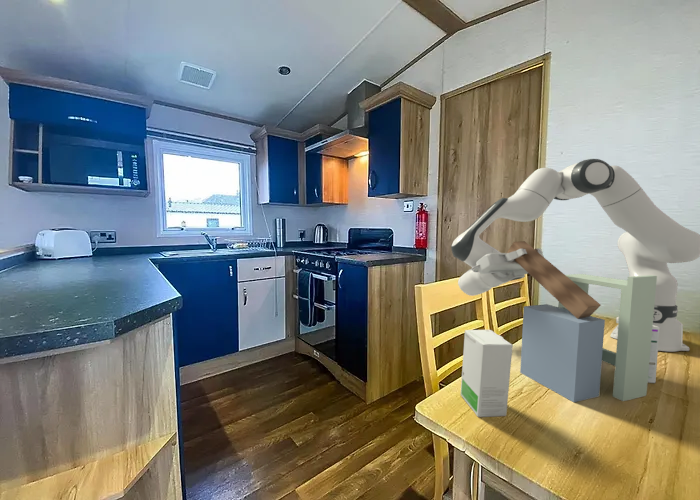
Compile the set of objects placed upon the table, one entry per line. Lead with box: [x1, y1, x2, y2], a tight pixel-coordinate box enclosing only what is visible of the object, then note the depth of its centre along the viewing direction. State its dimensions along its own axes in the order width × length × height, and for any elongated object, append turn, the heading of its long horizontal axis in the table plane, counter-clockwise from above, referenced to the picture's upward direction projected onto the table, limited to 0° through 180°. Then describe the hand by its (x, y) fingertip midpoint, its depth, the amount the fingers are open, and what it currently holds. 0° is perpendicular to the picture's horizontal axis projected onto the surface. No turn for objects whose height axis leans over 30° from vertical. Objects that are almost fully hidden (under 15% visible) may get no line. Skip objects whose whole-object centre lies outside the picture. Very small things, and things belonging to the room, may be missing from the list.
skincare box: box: [460, 329, 514, 418], centre depth 63 cm, size 8×7×16 cm
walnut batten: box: [506, 240, 602, 319], centre depth 75 cm, size 24×4×4 cm
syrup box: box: [647, 325, 660, 384], centre depth 76 cm, size 6×6×14 cm
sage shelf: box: [557, 273, 657, 402], centre depth 74 cm, size 16×8×28 cm, turn 17°
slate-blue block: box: [519, 303, 606, 403], centre depth 73 cm, size 14×8×18 cm, turn 17°
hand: (532, 250), depth 79 cm, fingers closed on walnut batten, 4 cm apart
